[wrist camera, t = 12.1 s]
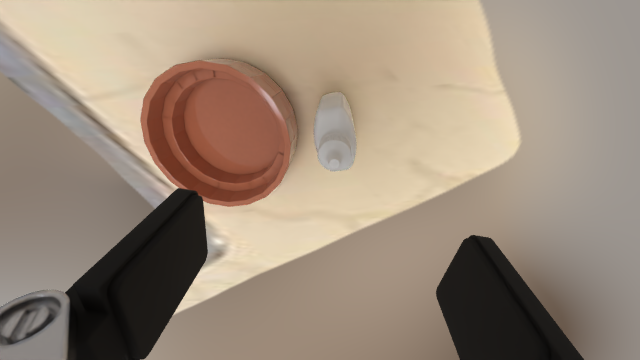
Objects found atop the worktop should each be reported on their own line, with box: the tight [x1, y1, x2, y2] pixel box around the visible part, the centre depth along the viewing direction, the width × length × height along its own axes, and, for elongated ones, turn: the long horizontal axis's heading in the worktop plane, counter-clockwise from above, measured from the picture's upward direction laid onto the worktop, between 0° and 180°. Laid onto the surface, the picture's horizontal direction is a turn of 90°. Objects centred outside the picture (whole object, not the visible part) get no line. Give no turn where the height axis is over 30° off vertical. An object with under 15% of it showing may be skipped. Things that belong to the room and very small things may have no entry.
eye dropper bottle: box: [314, 92, 356, 171], centre depth 22 cm, size 4×6×12 cm
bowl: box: [141, 58, 298, 207], centre depth 27 cm, size 14×14×5 cm
